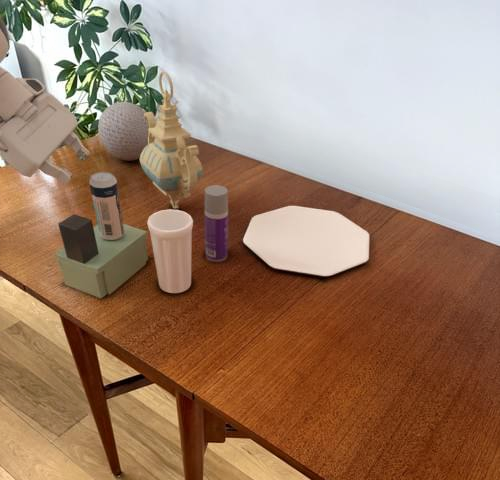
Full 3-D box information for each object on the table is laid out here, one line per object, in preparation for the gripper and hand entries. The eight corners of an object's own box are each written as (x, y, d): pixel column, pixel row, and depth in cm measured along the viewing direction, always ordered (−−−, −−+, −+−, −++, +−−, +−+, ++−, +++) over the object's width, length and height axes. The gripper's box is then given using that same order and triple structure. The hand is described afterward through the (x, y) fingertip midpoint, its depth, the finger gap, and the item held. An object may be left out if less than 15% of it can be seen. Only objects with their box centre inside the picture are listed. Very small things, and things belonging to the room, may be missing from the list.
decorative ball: (167, 159, 134) (162, 104, 124) (123, 174, 126) (115, 116, 116) (135, 144, 141) (129, 91, 131) (92, 157, 133) (82, 101, 123)
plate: (258, 205, 117) (259, 200, 116) (368, 221, 113) (370, 216, 112) (233, 267, 97) (233, 261, 96) (366, 288, 93) (368, 282, 92)
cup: (197, 296, 89) (194, 231, 79) (154, 299, 88) (146, 233, 78) (194, 271, 95) (191, 208, 85) (154, 274, 94) (146, 209, 84)
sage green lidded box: (62, 283, 90) (53, 253, 85) (112, 247, 100) (106, 218, 95) (103, 300, 87) (97, 269, 82) (150, 260, 97) (147, 231, 92)
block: (66, 257, 84) (57, 223, 80) (82, 247, 87) (74, 213, 82) (84, 264, 83) (76, 229, 78) (98, 253, 86) (91, 219, 81)
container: (229, 260, 98) (231, 194, 88) (208, 263, 97) (207, 196, 87) (224, 248, 102) (225, 183, 91) (203, 251, 100) (201, 185, 90)
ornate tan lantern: (219, 224, 109) (219, 85, 88) (175, 237, 104) (164, 92, 84) (174, 183, 123) (165, 55, 103) (133, 193, 118) (115, 60, 98)
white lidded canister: (130, 235, 91) (121, 176, 83) (109, 244, 88) (98, 184, 80) (115, 226, 93) (105, 168, 85) (95, 235, 90) (82, 175, 82)
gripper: (-13, 116, 68) (67, 183, 75) (41, 76, 83) (105, 135, 89) (-32, 144, 71) (47, 206, 78) (24, 101, 86) (86, 156, 93)
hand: (78, 168), depth 84 cm, fingers open, 8 cm apart
